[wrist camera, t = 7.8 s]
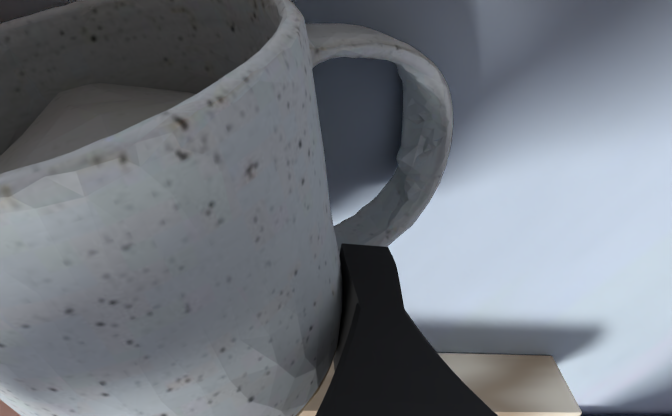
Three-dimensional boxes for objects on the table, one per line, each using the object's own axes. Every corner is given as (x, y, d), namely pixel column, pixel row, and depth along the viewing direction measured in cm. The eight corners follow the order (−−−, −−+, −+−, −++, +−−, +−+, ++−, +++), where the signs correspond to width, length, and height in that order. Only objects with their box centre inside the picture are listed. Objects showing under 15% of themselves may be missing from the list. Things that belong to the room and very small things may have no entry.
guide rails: (815, -70, 11) (937, -55, 9) (540, 373, 20) (568, 430, 18) (-106, -229, 8) (-238, -261, 6) (70, 364, 18) (41, 429, 15)
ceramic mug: (119, 280, 15) (12, 563, 9) (-46, 24, 10) (-513, 258, 4) (442, 216, 15) (556, 462, 9) (426, -78, 10) (655, 16, 4)
